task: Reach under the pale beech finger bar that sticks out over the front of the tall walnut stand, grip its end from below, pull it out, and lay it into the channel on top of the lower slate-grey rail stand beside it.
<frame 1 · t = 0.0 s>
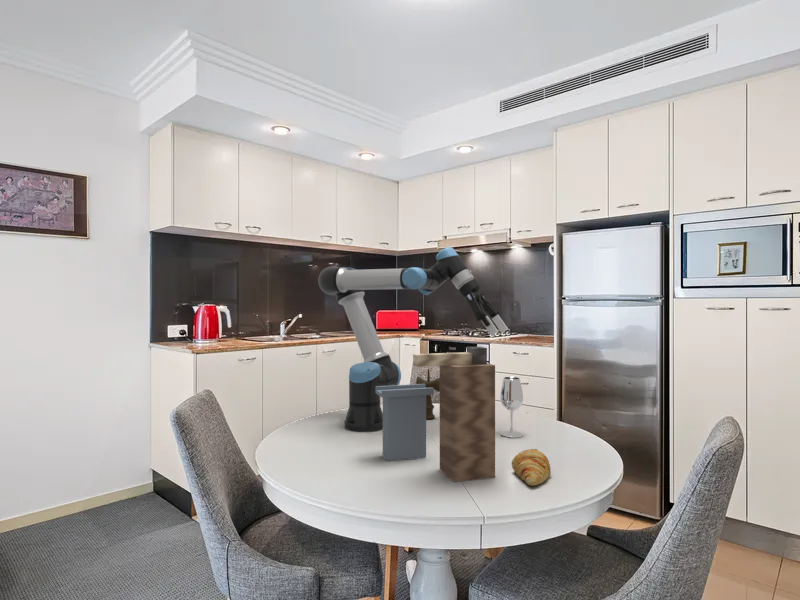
hand: (500, 332, 176), 36 cm above the table, tool tilted 35°, fingers open, 13 cm apart
walnut stand: (466, 473, 136), on the table
kendama: (428, 419, 198), on the table
wineglass: (511, 435, 174), on the table
croissant: (530, 476, 135), on the table
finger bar: (449, 364, 134), point 30 cm above the table, touching walnut stand
rail stand: (404, 456, 151), on the table
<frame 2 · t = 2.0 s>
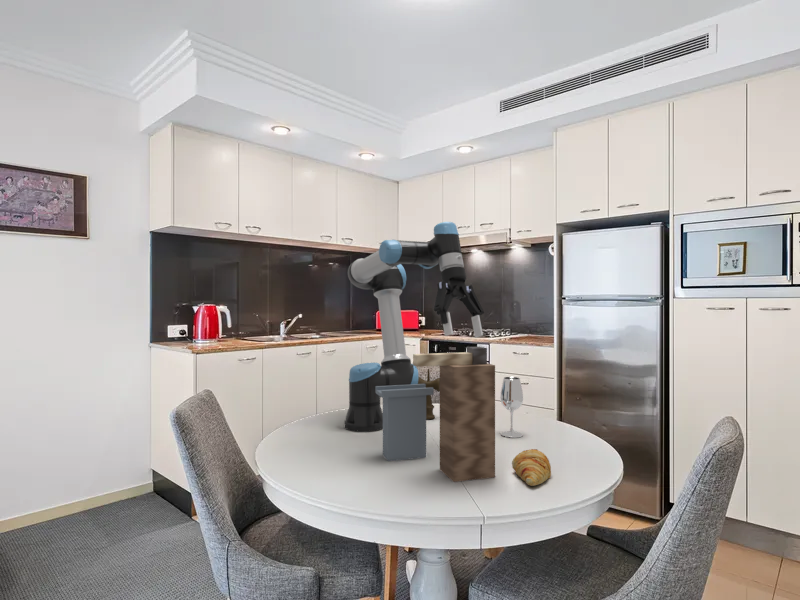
hand: (464, 335, 149), 37 cm above the table, tool tilted 20°, fingers open, 13 cm apart
nothing on the table moved.
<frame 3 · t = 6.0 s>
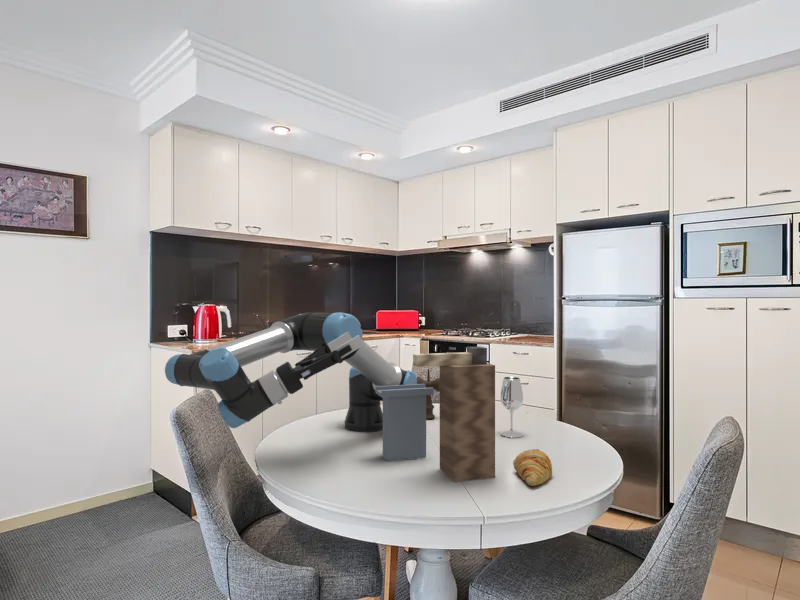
hand: (355, 337, 127), 38 cm above the table, tool pointing upward, fingers open, 13 cm apart
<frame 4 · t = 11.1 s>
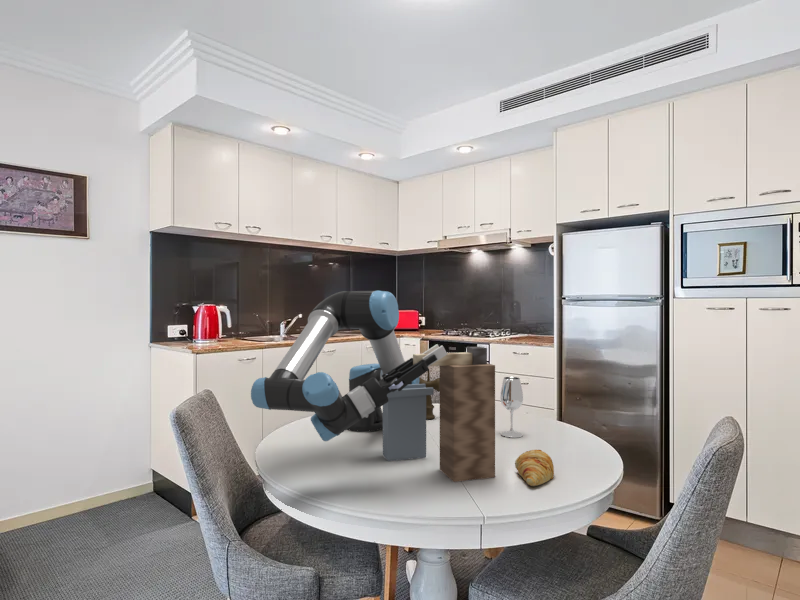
hand: (441, 349, 134), 34 cm above the table, tool pointing upward, fingers closed on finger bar, 3 cm apart
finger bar: (449, 364, 134), point 30 cm above the table, touching gripper, walnut stand
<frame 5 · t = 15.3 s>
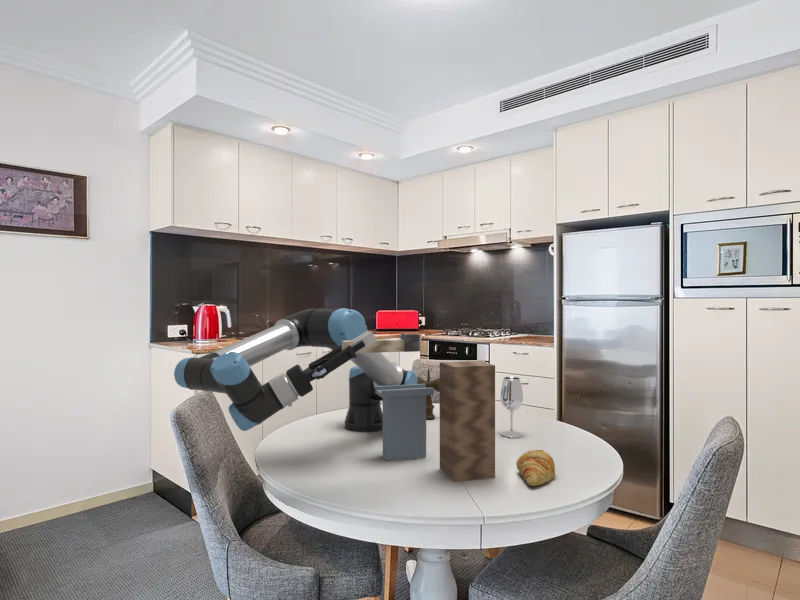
hand: (372, 335, 128), 38 cm above the table, tool pointing upward, fingers closed on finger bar, 3 cm apart
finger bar: (380, 351, 129), point 34 cm above the table, touching gripper
when the fingers open (26 cm above the table, at t = 19.7 s): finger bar drops 2 cm, resting on rail stand.
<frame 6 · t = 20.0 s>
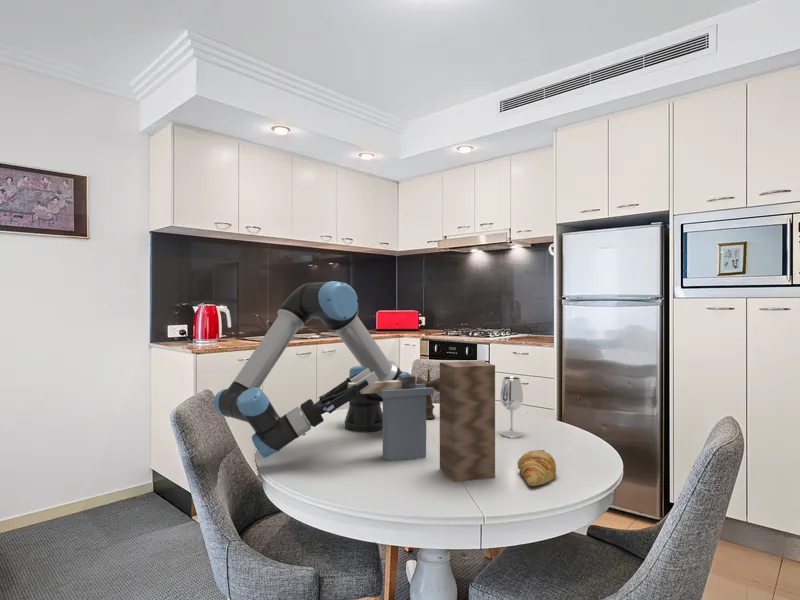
hand: (373, 373, 148), 26 cm above the table, tool pointing upward, fingers open, 7 cm apart
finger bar: (381, 391, 148), point 20 cm above the table, touching rail stand
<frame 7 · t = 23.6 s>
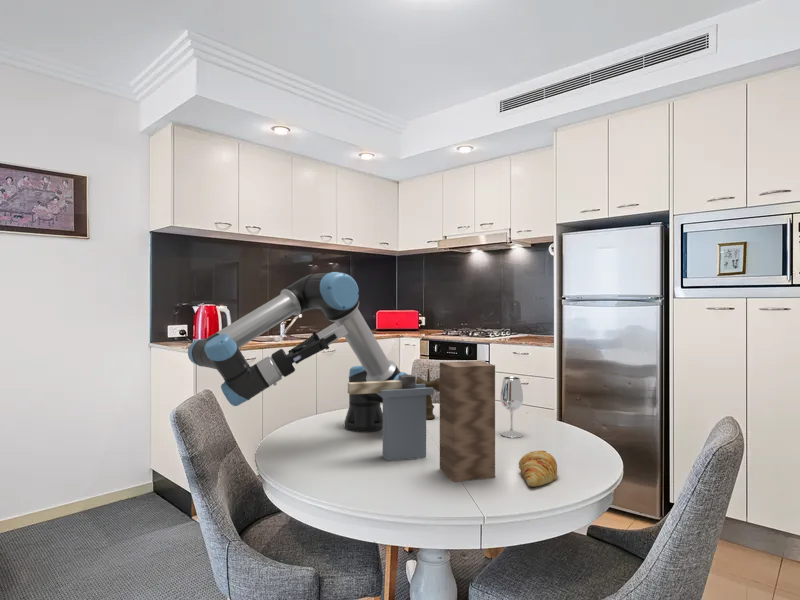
hand: (341, 327, 145), 39 cm above the table, tool pointing upward, fingers open, 13 cm apart
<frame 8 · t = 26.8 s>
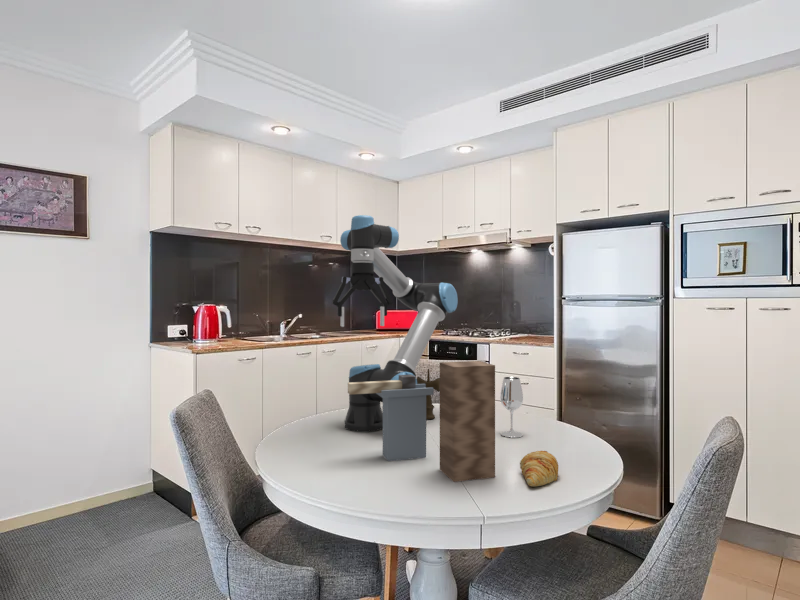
hand: (362, 326, 165), 39 cm above the table, tool pointing down, fingers open, 13 cm apart
at the end: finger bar inside the target area on the rail stand (0.5 cm from its centre), point 20.0 cm above the rail stand's base; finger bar tilted 0°; the gripper is holding nothing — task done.
